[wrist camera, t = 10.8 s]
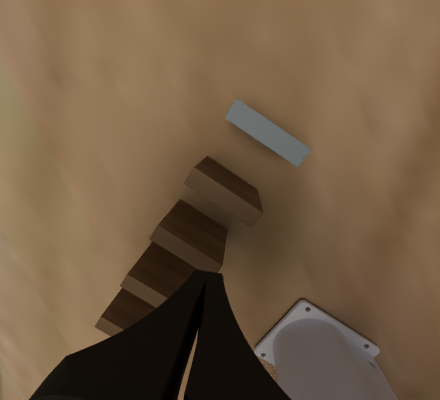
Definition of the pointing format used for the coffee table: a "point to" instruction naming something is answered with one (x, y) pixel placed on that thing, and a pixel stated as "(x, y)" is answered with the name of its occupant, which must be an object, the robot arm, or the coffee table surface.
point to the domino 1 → (123, 313)
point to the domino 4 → (157, 275)
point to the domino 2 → (226, 190)
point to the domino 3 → (192, 237)
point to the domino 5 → (267, 133)
